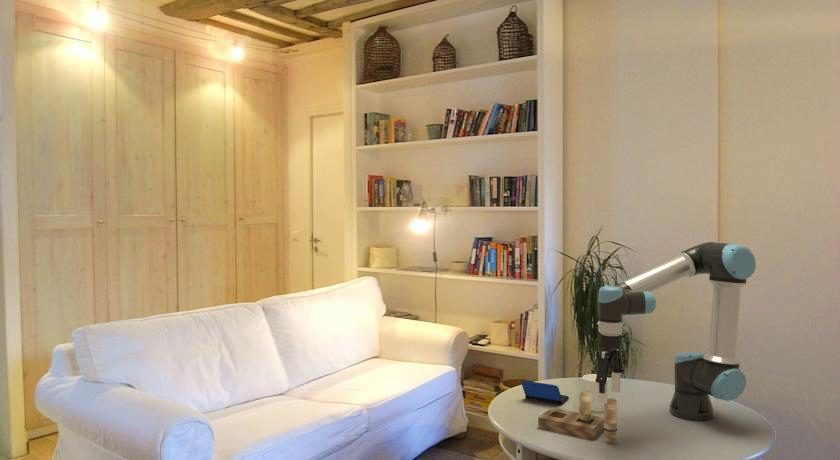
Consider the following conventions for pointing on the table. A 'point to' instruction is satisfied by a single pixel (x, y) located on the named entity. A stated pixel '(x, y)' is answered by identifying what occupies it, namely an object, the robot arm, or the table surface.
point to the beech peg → (610, 421)
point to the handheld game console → (543, 392)
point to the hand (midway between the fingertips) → (609, 397)
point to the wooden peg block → (573, 420)
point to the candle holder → (593, 391)
